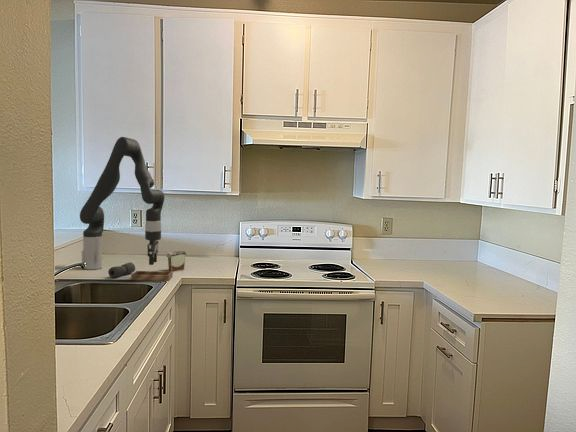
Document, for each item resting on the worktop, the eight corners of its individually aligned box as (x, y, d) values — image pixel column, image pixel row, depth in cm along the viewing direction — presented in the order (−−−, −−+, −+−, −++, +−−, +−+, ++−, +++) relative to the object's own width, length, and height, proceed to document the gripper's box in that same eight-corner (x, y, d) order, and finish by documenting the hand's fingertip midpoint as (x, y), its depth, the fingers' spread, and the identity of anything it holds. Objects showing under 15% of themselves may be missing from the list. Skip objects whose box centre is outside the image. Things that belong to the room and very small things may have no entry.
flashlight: (117, 268, 228) (107, 265, 230) (115, 279, 229) (106, 276, 230) (136, 263, 243) (127, 260, 244) (134, 273, 243) (126, 270, 245)
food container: (177, 267, 262) (178, 250, 261) (186, 269, 259) (186, 251, 258) (161, 271, 251) (161, 252, 251) (169, 272, 248) (170, 254, 248)
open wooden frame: (131, 280, 228) (131, 274, 228) (136, 275, 238) (136, 270, 238) (169, 280, 229) (169, 275, 229) (172, 276, 239) (172, 271, 239)
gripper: (148, 228, 239) (148, 260, 240) (142, 231, 224) (141, 266, 226) (163, 228, 239) (163, 261, 241) (158, 231, 225) (157, 266, 226)
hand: (152, 263), depth 233 cm, fingers open, 6 cm apart
